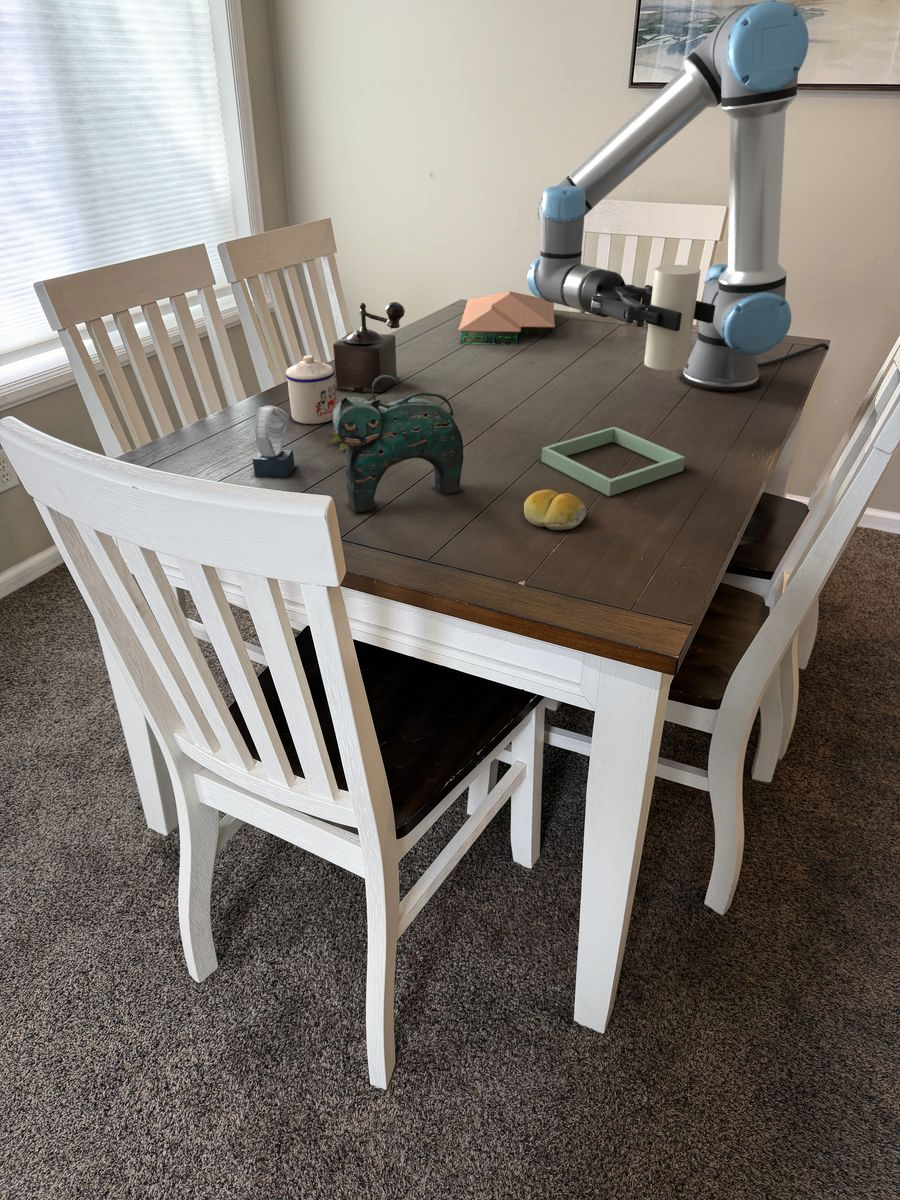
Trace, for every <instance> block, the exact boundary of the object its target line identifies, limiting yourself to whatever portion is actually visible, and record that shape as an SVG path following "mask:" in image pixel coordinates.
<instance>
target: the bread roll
mask: <svg viewBox="0 0 900 1200" xmlns="http://www.w3.org/2000/svg"><path fill="white" fill-rule="evenodd" d="M523 512H524V513H523V514H524V517H525V519H526V520H527V522H529V523H530V524H532V525H534V526H536V527H539V528H544V527H545V528H546V529H549V530H553V531H563V530H564V531H565V530H571V529H574V528H576V527H577V526H579V525H580V524H581V523H582V522H583V520H584V519H585V517H586V516H587V515H586V514H587V508H586V506H585V504H584V502H583V501H582V499H580V498H579V497H577V496H576V495H575V494H572V493H569V492H567V493H566V492H565V493H564V492H563V493H561V494H560V493H558V492H557V491H555V490H553V489H541V490H537V491H535V492H533V493H531V494H530V495H529V496H527V498H526V499H525V501H524V504H523Z"/></svg>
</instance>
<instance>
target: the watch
mask: <svg viewBox="0 0 900 1200" xmlns="http://www.w3.org/2000/svg"><path fill="white" fill-rule="evenodd" d="M289 419H290V417H289V415H288V413H287V412H286V411H285V410H284V409H282V408H281V407H278V406H276V405H264V406H261V407H260V406H259V407H258V409H257V411H256V414H255V421H254V431H255V432H254V433H255V435H254V436H255V444H256V447H257V449H258V451H257V452H256V454H255V455H254V456H253V458H252V463H253V464H252V466H253V472H254V477H257V478H261V477H262V478H281V479H284V478H285V479H288V478H289V476H291V473H292V472H293V471H294V469H295V468H296V465H295V457H294V449H283V447H284V442H285V434H286V433H287V427H288V422H289Z"/></svg>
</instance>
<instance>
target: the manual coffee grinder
mask: <svg viewBox="0 0 900 1200" xmlns="http://www.w3.org/2000/svg"><path fill="white" fill-rule="evenodd" d="M366 308H367V304H366V303H364V302H361V303H360V304H359V309H360V310H359V312H358V313H359V314H360V321H361V327H360V329H357V330H355V331H351V332H349V333H347V334H346V335H344V336H343V337H342V338H340V339H338V340H337V341H336V342H334V343H333V345H332V347H333V359H334V369H335V370H334V372H335V380H336V382H335V383H336V390H339V391H348V392H349V391H350V392H360V393H372V385H373V382H374V380H375V379H376V378H378V377H379V376H382V375H389V376H392V377H393V378H395V379H396V380H397V378H398V371H397V349H396V345H397V344H396V335H395V334H385V333H378V332H377V331H375V330H372V329H369V328H367V318H369V319H371V320H374V321H378V322H382V323H385V324H386V325H385V326H386V327H389V328H390V329H391V330H393V329H399V328H400V327H401V325H400V320H401V319H402V318H403V317H404V316H405V312H406V309H405V307H404V305H402V304H401V303H399V302H397V301H391V302H390V303H389V304H387V305H386V306H385V313H386V315H387V317H388V318H386V317H383V316H379V315H375V314H372V313H370V312H367V309H366ZM394 383H395V382H394V381H393V380H392V379H390V378H381V379H379V380H378V381H377V382H376V383H375V385H374V393H383V392H384V391H386V390H388V389H389V388H390V387H391V386H392V385H393V384H394Z"/></svg>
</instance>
